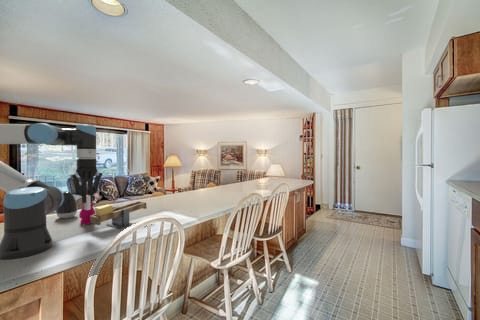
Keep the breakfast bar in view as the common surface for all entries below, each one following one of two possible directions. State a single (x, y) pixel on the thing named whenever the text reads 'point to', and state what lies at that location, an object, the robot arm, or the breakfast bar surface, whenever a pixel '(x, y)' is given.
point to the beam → (118, 212)
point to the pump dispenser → (67, 206)
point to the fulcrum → (121, 220)
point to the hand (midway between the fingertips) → (87, 209)
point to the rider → (103, 210)
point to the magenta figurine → (86, 214)
